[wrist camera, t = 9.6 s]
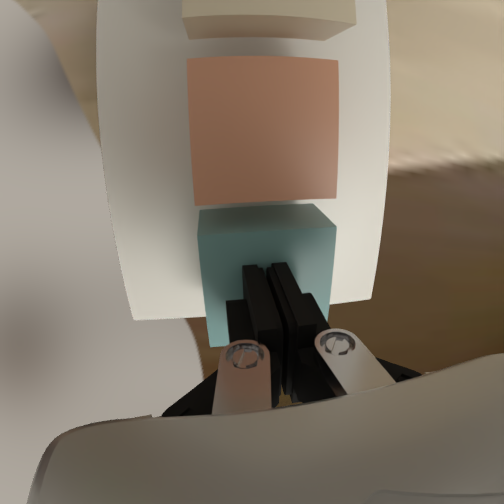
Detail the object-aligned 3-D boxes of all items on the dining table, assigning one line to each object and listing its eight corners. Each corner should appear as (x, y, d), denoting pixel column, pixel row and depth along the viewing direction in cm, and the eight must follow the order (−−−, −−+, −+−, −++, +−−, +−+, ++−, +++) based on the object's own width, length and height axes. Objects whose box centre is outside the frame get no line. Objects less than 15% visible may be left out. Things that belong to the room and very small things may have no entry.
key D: (201, 192, 16) (197, 235, 11) (296, 187, 17) (336, 226, 12) (208, 277, 19) (210, 347, 13) (294, 270, 19) (325, 334, 14)
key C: (195, 77, 14) (186, 58, 9) (294, 75, 15) (338, 60, 9) (200, 172, 16) (194, 205, 11) (295, 168, 17) (336, 198, 11)
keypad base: (125, -92, 9) (115, -114, 6) (347, -89, 10) (365, -109, 8) (142, 292, 20) (133, 320, 17) (352, 275, 21) (370, 298, 19)
